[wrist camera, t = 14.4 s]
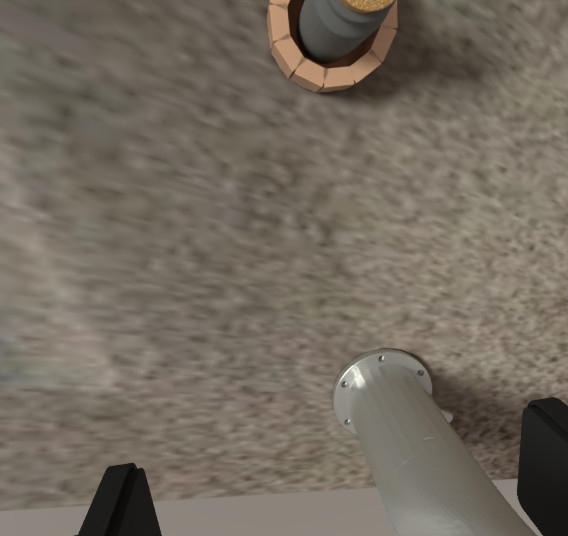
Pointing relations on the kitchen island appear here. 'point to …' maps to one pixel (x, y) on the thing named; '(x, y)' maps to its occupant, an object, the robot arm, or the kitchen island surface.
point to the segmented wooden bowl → (316, 75)
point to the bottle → (337, 26)
